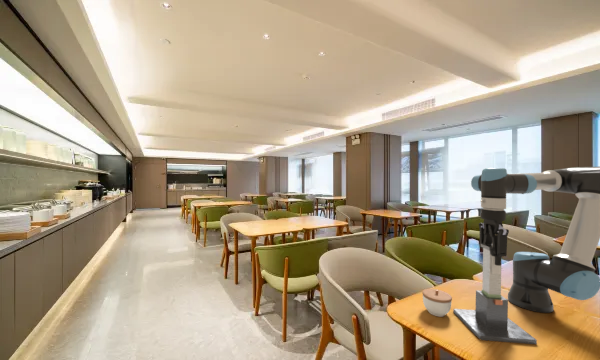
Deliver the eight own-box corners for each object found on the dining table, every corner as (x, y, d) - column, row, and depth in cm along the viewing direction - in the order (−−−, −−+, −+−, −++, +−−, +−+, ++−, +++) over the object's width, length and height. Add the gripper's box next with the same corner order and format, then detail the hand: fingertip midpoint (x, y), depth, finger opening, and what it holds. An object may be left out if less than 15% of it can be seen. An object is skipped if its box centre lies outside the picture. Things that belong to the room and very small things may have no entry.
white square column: (494, 298, 97) (495, 244, 97) (503, 305, 92) (504, 247, 91) (479, 297, 97) (480, 243, 97) (488, 304, 92) (489, 247, 92)
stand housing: (499, 315, 102) (500, 286, 102) (536, 344, 85) (537, 308, 85) (453, 312, 104) (454, 283, 104) (479, 339, 86) (480, 305, 86)
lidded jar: (456, 321, 98) (456, 297, 98) (426, 318, 100) (426, 294, 100) (445, 307, 108) (446, 286, 108) (419, 304, 110) (419, 283, 110)
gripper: (469, 206, 103) (468, 262, 103) (497, 211, 86) (496, 279, 86) (489, 206, 102) (487, 263, 102) (521, 212, 85) (520, 280, 85)
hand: (491, 270), depth 94 cm, fingers closed on white square column, 4 cm apart
